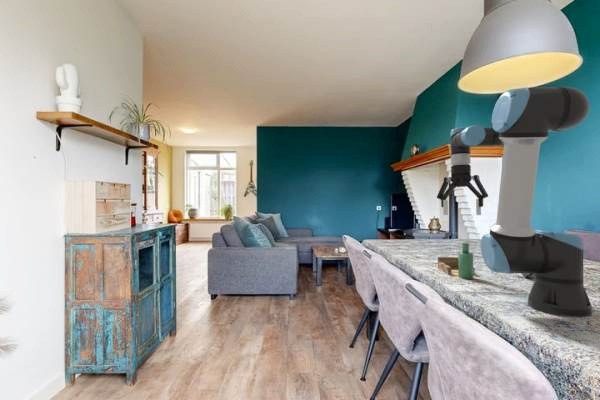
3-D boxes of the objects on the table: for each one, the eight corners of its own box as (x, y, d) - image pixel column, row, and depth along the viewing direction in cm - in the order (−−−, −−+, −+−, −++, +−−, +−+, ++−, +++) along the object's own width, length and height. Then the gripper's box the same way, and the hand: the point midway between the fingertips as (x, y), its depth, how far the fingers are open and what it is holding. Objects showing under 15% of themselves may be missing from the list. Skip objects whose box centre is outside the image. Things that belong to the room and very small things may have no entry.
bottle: (475, 279, 133) (475, 242, 133) (461, 279, 133) (461, 242, 133) (470, 276, 138) (469, 240, 138) (456, 275, 138) (456, 240, 138)
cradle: (482, 281, 133) (482, 266, 133) (453, 281, 134) (453, 266, 134) (461, 270, 155) (461, 257, 155) (437, 270, 156) (436, 256, 156)
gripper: (496, 162, 134) (497, 215, 134) (436, 168, 153) (437, 214, 152) (489, 160, 129) (490, 215, 129) (428, 167, 148) (429, 214, 147)
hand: (461, 215), depth 141 cm, fingers open, 13 cm apart
